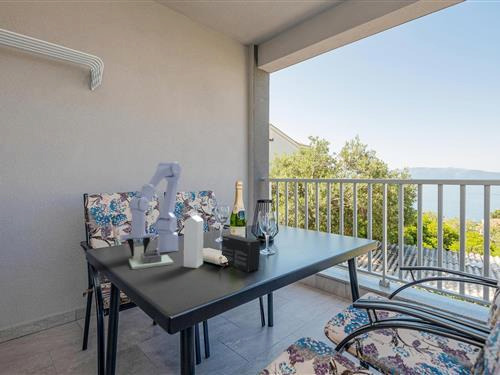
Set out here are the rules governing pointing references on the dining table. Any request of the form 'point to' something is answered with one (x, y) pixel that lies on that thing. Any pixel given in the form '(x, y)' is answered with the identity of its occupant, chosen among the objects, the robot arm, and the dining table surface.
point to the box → (241, 252)
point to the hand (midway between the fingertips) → (138, 255)
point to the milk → (193, 241)
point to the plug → (138, 250)
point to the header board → (150, 260)
